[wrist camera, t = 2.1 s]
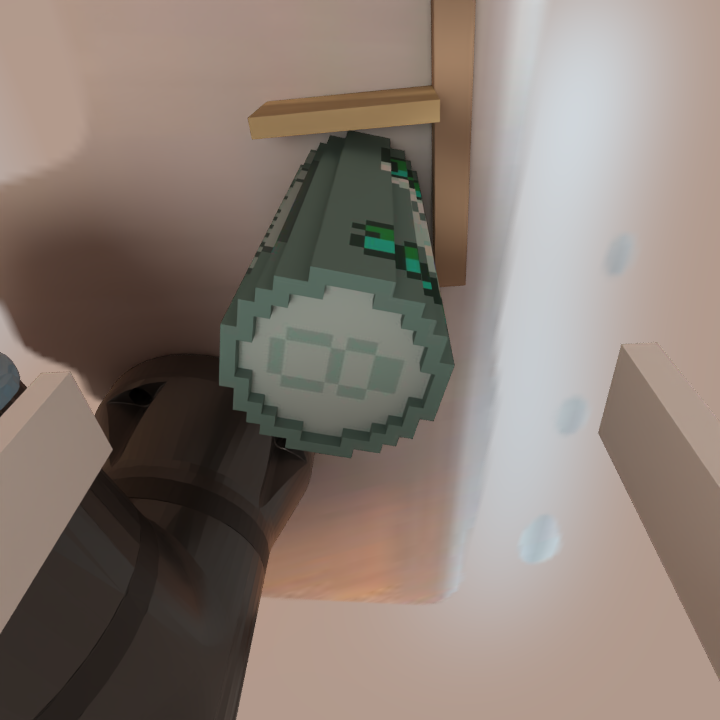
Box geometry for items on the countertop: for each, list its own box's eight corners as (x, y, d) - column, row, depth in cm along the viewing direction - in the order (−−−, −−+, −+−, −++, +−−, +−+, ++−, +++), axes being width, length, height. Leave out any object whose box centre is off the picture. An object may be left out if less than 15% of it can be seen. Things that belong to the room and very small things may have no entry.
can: (401, 261, 27) (415, 468, 15) (292, 240, 27) (217, 437, 15) (430, 147, 24) (479, 297, 12) (305, 121, 23) (222, 249, 11)
